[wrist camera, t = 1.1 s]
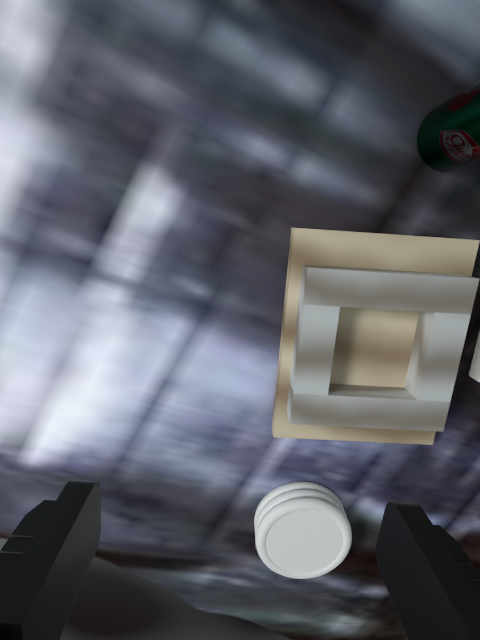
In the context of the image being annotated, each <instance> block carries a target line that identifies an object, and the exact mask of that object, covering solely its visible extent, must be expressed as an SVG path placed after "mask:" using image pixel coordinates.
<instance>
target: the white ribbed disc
mask: <svg viewBox="0 0 480 640" xmlns="http://www.w3.org/2000/svg"><path fill="white" fill-rule="evenodd" d="M254 526H255V542H256V548H257V551H258V554H259V556H260V558H261V559H262V561H263V562H264V563H265V565H266V566H267V567H269V568H270V569H271V570H273V571H274V572H276V573H278V574H280V575H283V576H286V577H290V578H297V579H307V578H313V577H318V576H321V575H323V574H325V573H328V572H329V571H331V570H333V569H334V568H335V567H337V566H338V565H339V564H340V563H341V562H342V561H343V560H344V558H345V557H346V556H347V554H348V552H349V550H350V547H351V542H352V531H351V526H350V523H349V521H348V519H347V515H346V513H345V511H344V508H343V505H342V503H341V501H340V500H339V499H338V497H337V496H336V495H335V494H334V493H333V492H332V491H331V490H329V489H328V488H326V487H324V486H322V485H319V484H317V483H312V482H305V481H303V482H291V483H287V484H284V485H281V486H279V487H277V488H275V489H273V490H272V491H270V492H269V493H268V494H267V495H266V496H265V497H264V498H263V499H262V500H261V502H260V503H259V505H258V507H257V510H256V513H255V518H254Z"/></svg>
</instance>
